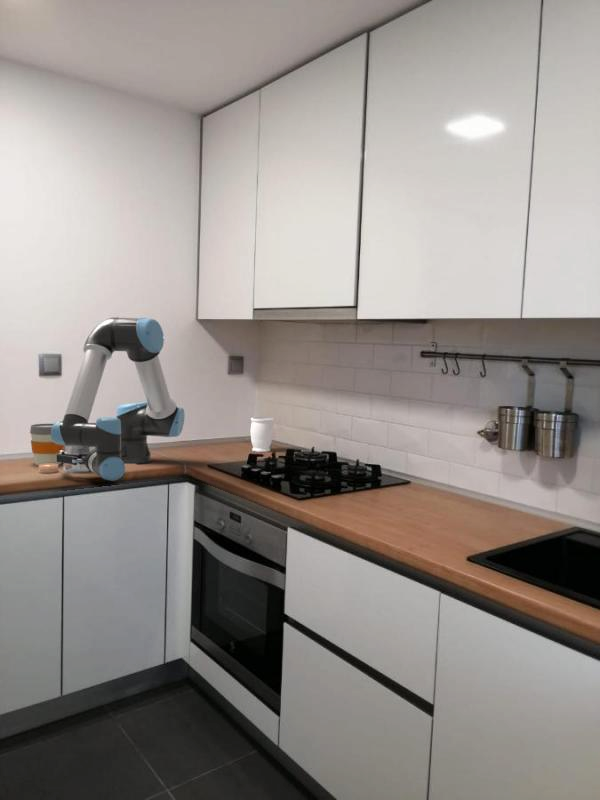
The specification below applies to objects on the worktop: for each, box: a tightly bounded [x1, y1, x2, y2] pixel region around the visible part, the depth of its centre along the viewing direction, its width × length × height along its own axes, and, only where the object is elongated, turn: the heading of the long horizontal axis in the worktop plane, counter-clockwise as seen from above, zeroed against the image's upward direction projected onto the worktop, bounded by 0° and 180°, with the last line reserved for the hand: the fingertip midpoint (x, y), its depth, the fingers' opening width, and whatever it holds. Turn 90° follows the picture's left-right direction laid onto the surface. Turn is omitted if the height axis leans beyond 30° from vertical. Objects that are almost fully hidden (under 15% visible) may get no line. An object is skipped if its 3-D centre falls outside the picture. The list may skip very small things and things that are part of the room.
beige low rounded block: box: [38, 463, 59, 474], centre depth 223 cm, size 6×6×3 cm
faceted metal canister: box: [62, 445, 96, 473], centre depth 229 cm, size 11×11×13 cm
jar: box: [250, 416, 274, 453], centre depth 288 cm, size 11×10×15 cm
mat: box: [59, 466, 93, 475], centre depth 229 cm, size 11×14×1 cm
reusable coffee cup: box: [29, 423, 63, 467], centre depth 237 cm, size 12×13×15 cm
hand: (80, 452), depth 226 cm, fingers open, 13 cm apart
